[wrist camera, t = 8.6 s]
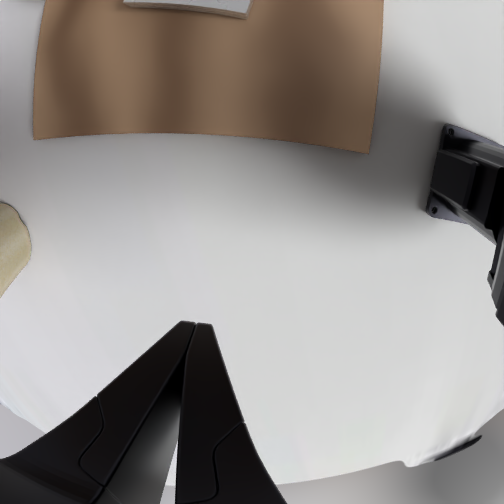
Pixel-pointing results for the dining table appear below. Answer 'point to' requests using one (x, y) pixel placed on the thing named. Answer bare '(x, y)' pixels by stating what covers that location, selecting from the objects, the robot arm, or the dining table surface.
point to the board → (210, 71)
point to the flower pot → (12, 246)
